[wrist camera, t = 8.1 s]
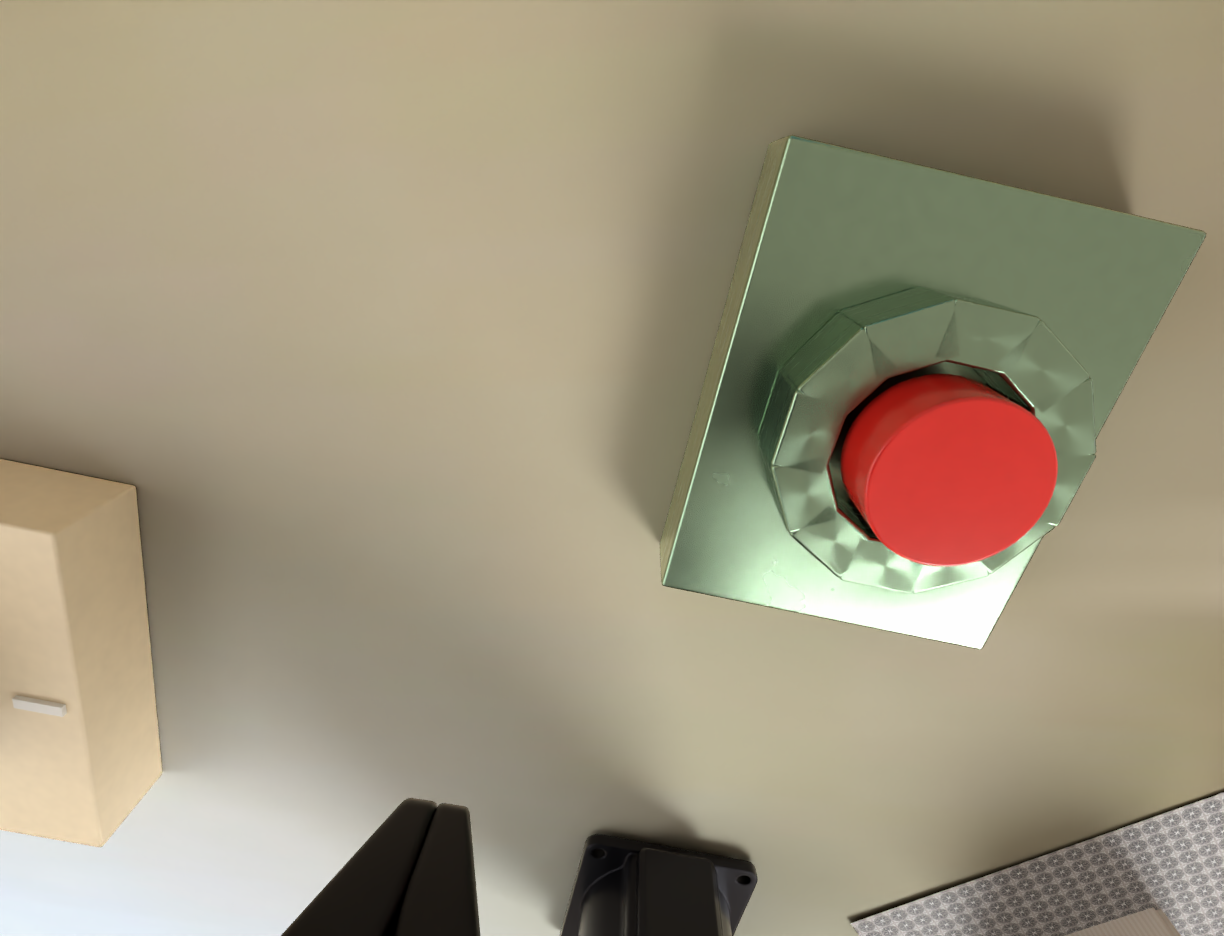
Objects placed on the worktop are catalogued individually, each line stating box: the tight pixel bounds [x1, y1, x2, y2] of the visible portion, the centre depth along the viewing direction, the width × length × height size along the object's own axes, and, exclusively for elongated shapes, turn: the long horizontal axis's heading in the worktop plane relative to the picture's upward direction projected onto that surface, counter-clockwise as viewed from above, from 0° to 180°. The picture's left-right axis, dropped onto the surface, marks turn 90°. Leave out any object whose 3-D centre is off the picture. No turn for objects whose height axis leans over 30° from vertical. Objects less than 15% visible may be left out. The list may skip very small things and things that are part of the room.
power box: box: [660, 135, 1206, 649], centre depth 16 cm, size 11×9×4 cm
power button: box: [841, 374, 1058, 567], centre depth 13 cm, size 4×4×2 cm
